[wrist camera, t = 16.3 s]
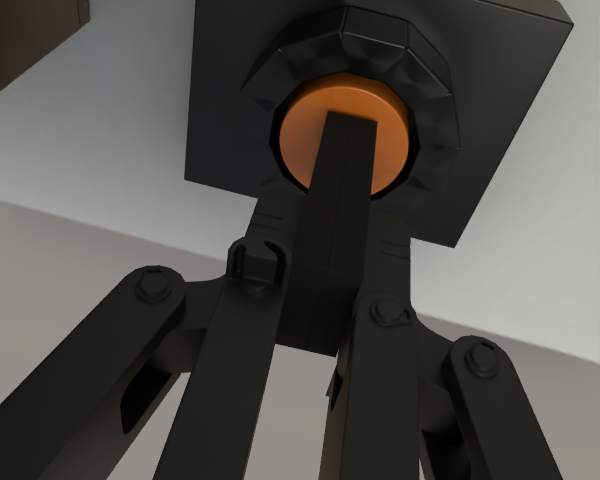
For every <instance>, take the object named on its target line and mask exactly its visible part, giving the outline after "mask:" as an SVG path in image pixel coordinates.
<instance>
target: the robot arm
mask: <svg viewBox="0 0 600 480" xmlns="http://www.w3.org/2000/svg"><path fill="white" fill-rule="evenodd" d="M377 125H378V122H377V121H373V120H368V119H364V118H359V117H355V116H350V115H346V114H342V113H337V112H333V111H328V112H327V116H326V120H325V124H324V128H323V132H322V136H321V141H320V145H319V149H318V153H317V157H316V161H315V165H314V169H313V173H312V177H311V181H310V186H309V190H308V194H307V196H303V195H298V194H294V193H289V192H285V191H281V190H276V189H272V188H270V189H269V190H268V191H266V192H265V193H264V194H263V195H262V196H260V197H259V198H258V201H257V204H256V206H255V209H254V213H253V215H252V218H251V220H250V224H249V226H248V229H247V232H246V234H245V237H242V238H240V239H238V240H236V241H235V242H233V244H232V245H231V247H230V248H229V249H228V258H227V268H226V274H225V275H223V276H221V277H220V278H217V279H213V280H208V281H199V282H198V281H197V282H185V281H184V279H183V277H182V276H181V274H179V273H178V272H176V271H174V270H173V269H171V268H167V267H164V266H160V265H158V266H145V267H142V268H138V269H135V270H134V271H132V272H131V273H129V274H128V275H127V276H125V277H124V279H122V281H120V283H119V284H118V285H117V286H116V287H115V288H114V289H113V290H112V291H111V292H110V293H109V294H108V295H107V296H106V297H105V298H104V299H103V300H102V301H101V302H100V303H99V304H98V305H97V306H96V307H95V308H94V309H93V310H92V311H91V312H90V313H89V314H88V315H87V316H86V317H85V318H84V319H83V320H82V321H81V322H80V323H79V324H78V325H77V326H76V328H74V329H73V331H72V332H71V333H70V334H69V335H68V336H67V337H66V338H65V339H64V340H63V341H62V342H61V343H60V344H59V345H58V346H57V347H56V348H55V349H54V350H53V351H52V352H51V353H50V354H49V355H48V356H47V357H46V358H45V359H44V360H43V361H42V362H41V363H40V364H39V365H38V366H37V367H36V368H35V369H34V370H33V372H32V373H30V374H29V376H28V377H27V378H26V379H24V380H23V382H22V383H21V384H20V385H19V386H18V387H17V388H16V389H15V390H14V391H13V392H12V393H11V394H10V395H9V396H8V397H7V398H6V399H5V400H4V401H3V402H2V403H1V404H0V480H106V479H107V478H108V476H109V475H110V473H111V472H112V471H113V469H114V468H115V466H116V465H117V464H118V462H119V461H120V459H121V458H122V457H123V455H124V454H125V452H126V451H127V450H128V448H129V447H130V445H131V444H132V442H133V441H134V440H135V438H136V437H137V436H138V434H139V433H140V431H141V429H142V428H143V427H144V426H145V424H146V423H147V421H148V420H149V419H150V417H151V416H152V414H153V413H154V412H155V410H156V409H157V407H158V406H159V405H160V403H161V402H162V400H163V399H164V397H165V396H166V395H167V393H168V392H169V390H170V389H171V388H172V386H173V385H174V383H175V382H176V381H177V379H178V378H179V376H180V375H181V373H187V372H191V375H190V377H189V380H188V383H187V385H186V388H185V391H184V394H183V396H182V399H181V402H180V405H179V407H178V410H177V413H176V416H175V418H174V421H173V424H172V427H171V429H170V432H169V435H168V438H167V441H166V443H165V446H164V449H163V452H162V454H161V457H160V460H159V463H158V465H157V468H156V471H155V474H154V476H153V479H152V480H244V476H245V472H246V467H247V463H248V459H249V455H250V450H251V446H252V441H253V437H254V433H255V428H256V424H257V420H258V416H259V412H260V407H261V403H262V399H263V394H264V390H265V386H266V381H267V377H268V373H269V369H270V364H271V360H272V355H273V350H274V346H275V344H279V345H283V346H288V347H292V348H297V349H301V350H306V351H310V352H314V353H319V354H323V355H327V356H332V357H336V355H337V352H338V359H337V365H336V368H335V371H334V373H333V376H332V379H331V382H330V385H329V387H328V390H327V393H326V396H329V404H328V413H327V419H326V427H325V435H324V442H323V450H322V457H321V465H320V472H319V480H419V458H420V461H421V466H422V470H423V474H424V478H425V480H563V478H562V476H561V474H560V471H559V469H558V467H557V464H556V462H555V460H554V458H553V455H552V453H551V451H550V449H549V446H548V444H547V441H546V439H545V437H544V435H543V432H542V430H541V428H540V425H539V423H538V421H537V418H536V416H535V414H534V412H533V409H532V407H531V405H530V403H529V400H528V398H527V395H526V393H525V391H524V389H523V387H522V384H521V382H520V379H519V377H518V375H517V372H516V370H515V368H514V366H513V363H512V362H511V360H510V358H509V357H508V355H507V354H506V352H505V351H503V350H502V349H501V348H500V347H499V346H498V345H497V344H496V343H493V342H492V341H490V340H488V339H486V338H483V337H478V336H473V335H471V336H463V337H460V338H459V339H458V340H456V341H454V342H452V341H450V340H448V339H446V338H444V337H442V336H440V335H438V334H436V333H435V332H433V331H431V330H430V329H428V328H427V327H426V326H424V325H423V324H422V323H421V322H420V321H419V319H418V318H417V316H416V312H415V310H414V309H413V307H412V306H411V301H410V229H409V228H408V226H407V224H406V222H405V220H404V218H403V217H402V216H397V215H393V214H388V213H384V212H379V211H375V210H371V209H370V200H371V189H372V178H373V168H374V157H375V146H376V135H377ZM338 349H339V351H338Z"/></svg>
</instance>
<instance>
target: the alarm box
mask: <svg viewBox="0 0 600 480" xmlns="http://www.w3.org/2000/svg"><path fill="white" fill-rule="evenodd" d="M573 26H574V23H573V22H572V20H571V19H570V17H569V16H568V14H567V13H566V11H565V9H564V8H563V6H562V5H561V3H560V2H557V1H553V0H196V4H195V20H194V35H193V50H192V66H191V81H190V96H189V112H188V127H187V142H186V158H185V173H184V179H185V180H187V181H191V182H195V183H199V184H203V185H207V186H211V187H215V188H219V189H223V190H226V191H230V192H234V193H238V194H242V195H246V196H250V197H254V198H259V197H260V196H262V195H263V194H264V193H265V192H266V191H268V190H269V189H270V188H272V189H276V190H281V191H285V192H289V193H294V194H298V195H303V196H307V194H308V190H309V189H308V188H307V187H305V186H304V185H303V184H301V183H300V182H299V181H298V180H297V179H296V178H295V177H294V176H293V175H292V174H291V172H290V171H289V169H288V168H287V166H286V164H285V162H284V160H283V157H282V154H281V150H280V142H279V137H280V130H281V126H282V123H283V120H284V117H285V114H286V112H287V109H288V106H289V103H290V100H291V98H292V96H293V93H294V92H295V90H296V89H297V88H298V87H299V86H300V85H301V84H302V83H303V82H305V81H309V80H313V79H317V78H321V77H325V76H329V75H332V74H336V73H340V72H345V73H349V74H353V75H356V76H360V77H364V78H368V79H372V80H376V81H380V82H384V83H385V84H386V85H387V86H388V87H389V88H390V89H391V90H392V91H393V92H394V93H395V94H396V95H397V96H398V97H399V98H400V99H401V100H402V101H403V102H404V103H405V104H406V105H407V107H408V113H409V149H408V156H407V159H406V162H405V164H404V166H403V168H402V170H401V172H400V173H399V175H398V176H397V177H396V178H395V179H394V180H393V181H392V182H391V183H390V184H389V185H388V186H386V187H385V188H383V189H382V190H380V191H378V192H376V193H374V194H372V195H371V200H370V209H371V210H375V211H379V212H384V213H388V214H393V215H397V216H402V217H403V218H404V220H405V222H406V224H407V226H408V228H409V229H410V237H412V238H416V239H419V240H423V241H427V242H431V243H435V244H439V245H443V246H447V247H451V248H455V246H456V244H457V242H458V241H459V239H460V237H461V235H462V233H463V231H464V229H465V227H466V226H467V224H468V222H469V220H470V218H471V216H472V214H473V213H474V211H475V209H476V207H477V205H478V203H479V201H480V200H481V198H482V196H483V194H484V192H485V190H486V188H487V187H488V185H489V183H490V181H491V179H492V177H493V175H494V173H495V172H496V170H497V168H498V166H499V164H500V162H501V160H502V159H503V157H504V155H505V153H506V151H507V149H508V147H509V146H510V144H511V142H512V140H513V138H514V136H515V134H516V132H517V131H518V129H519V127H520V125H521V123H522V121H523V119H524V118H525V116H526V114H527V112H528V110H529V108H530V106H531V105H532V103H533V101H534V99H535V97H536V95H537V93H538V92H539V90H540V88H541V86H542V84H543V82H544V80H545V78H546V77H547V75H548V73H549V71H550V69H551V67H552V65H553V64H554V62H555V60H556V58H557V56H558V54H559V52H560V51H561V49H562V47H563V45H564V43H565V41H566V39H567V38H568V36H569V34H570V32H571V30H572V28H573Z"/></svg>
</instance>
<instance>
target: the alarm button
mask: <svg viewBox="0 0 600 480" xmlns="http://www.w3.org/2000/svg"><path fill="white" fill-rule="evenodd" d="M328 111H333V112H337V113H342V114H346V115H350V116H355V117H359V118H364V119H368V120H373V121H377V122H378V125H377V135H376V146H375V157H374V168H373V178H372V189H371V195H372V194H374V193H376V192H378V191H380V190H382V189H383V188H385V187H386V186H388V185H389V184H390V183H391V182H392V181H393V180H394V179H395V178H396V177H397V176H398V175H399V173H400V172H401V170H402V168H403V166H404V164H405V162H406V159H407V156H408V149H409V113H408V107H407V105H406V104H405V103H404V102H403V101H402V100H401V99H400V98H399V97H398V96H397V95H396V94H395V93H394V92H393V91H392V90H391V89H390V88H389V87H388V86H387V85H386V84H385V83H384V82H380V81H376V80H372V79H368V78H364V77H360V76H356V75H353V74H349V73H345V72H340V73H336V74H332V75H329V76H325V77H321V78H317V79H313V80H309V81H305V82H303V83H302V84H301V85H300V86H299V87H298V88H297V89H296V90H295V92H294V93H293V96H292V98H291V100H290V103H289V106H288V109H287V112H286V114H285V117H284V120H283V123H282V126H281V130H280V137H279V142H280V150H281V154H282V157H283V160H284V162H285V164H286V166H287V168H288V169H289V171H290V172H291V174H292V175H293V176H294V177H295V178H296V179H297V180H298V181H299V182H300V183H301V184H303V185H304V186H305V187H307V188H308V189H309V186H310V181H311V177H312V173H313V169H314V165H315V161H316V157H317V153H318V149H319V145H320V141H321V136H322V132H323V128H324V124H325V120H326V116H327V112H328Z"/></svg>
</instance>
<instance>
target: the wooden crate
mask: <svg viewBox="0 0 600 480" xmlns="http://www.w3.org/2000/svg"><path fill="white" fill-rule="evenodd" d="M89 20H90V19H89V9H88V0H0V91H1V90H3V89H4V88H5V87H6V86H8V85H9V84H10V83H11V82H13V81H14V80H15V79H17V78H18V77H19V76H20V75H22V74H23V73H24V72H26V71H27V70H28V69H29V68H31V67H32V66H33V65H34V64H36V63H37V62H38V61H40V60H41V59H42V58H43V57H45V56H46V55H47V54H49V53H50V52H51V51H52V50H54V49H55V48H56V47H57V46H59V45H60V44H61V43H63V42H64V41H65V40H66V39H68V38H69V37H70V36H72V35H73V34H74V33H75V32H77V31H78V30H79V29H80V28H81V27H83V26H84V25H85V24H87V23H88V22H89Z"/></svg>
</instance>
